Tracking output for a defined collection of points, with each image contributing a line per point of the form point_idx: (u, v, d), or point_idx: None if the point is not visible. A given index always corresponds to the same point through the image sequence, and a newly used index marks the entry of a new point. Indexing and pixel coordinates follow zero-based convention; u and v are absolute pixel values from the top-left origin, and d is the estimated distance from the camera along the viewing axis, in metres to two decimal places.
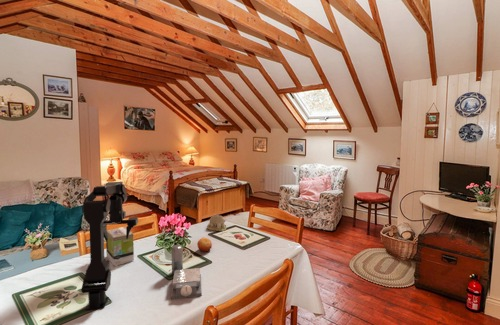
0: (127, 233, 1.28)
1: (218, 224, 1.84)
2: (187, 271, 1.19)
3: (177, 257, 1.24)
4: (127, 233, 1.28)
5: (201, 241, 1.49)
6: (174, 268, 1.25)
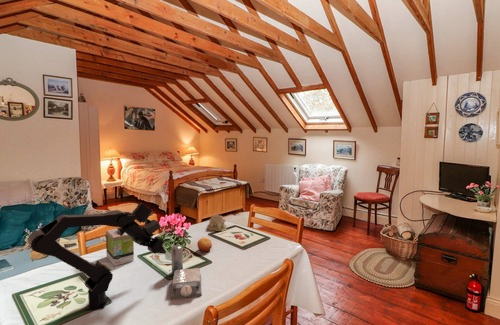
0: (158, 252, 1.15)
1: (218, 224, 1.84)
2: (187, 271, 1.19)
3: (177, 257, 1.24)
4: None
5: (201, 241, 1.49)
6: (174, 268, 1.25)
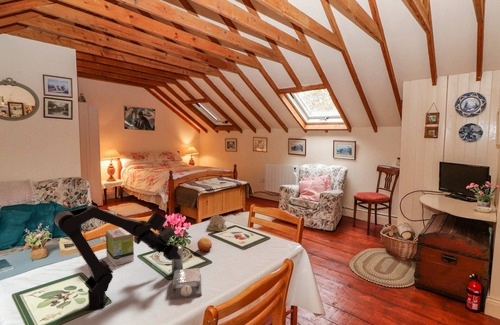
0: None
1: (219, 224, 1.84)
2: (187, 271, 1.19)
3: None
4: (173, 258, 1.20)
5: (201, 241, 1.49)
6: (174, 268, 1.25)
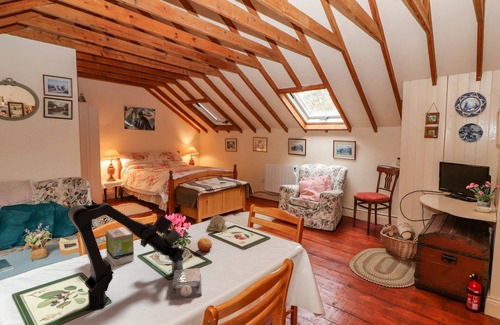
0: None
1: (219, 225, 1.83)
2: (187, 271, 1.19)
3: None
4: None
5: (201, 241, 1.49)
6: (174, 268, 1.25)
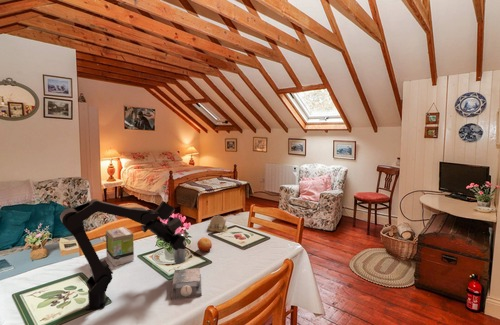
0: (178, 248, 1.20)
1: (220, 225, 1.83)
2: (187, 271, 1.19)
3: None
4: (178, 248, 1.20)
5: (201, 241, 1.49)
6: (176, 256, 1.22)
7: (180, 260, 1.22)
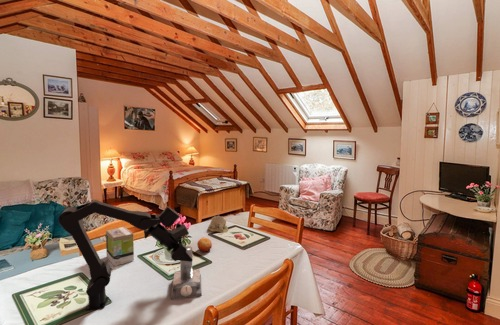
0: None
1: (220, 225, 1.82)
2: None
3: None
4: None
5: (201, 241, 1.49)
6: (181, 272, 1.14)
7: (184, 276, 1.13)
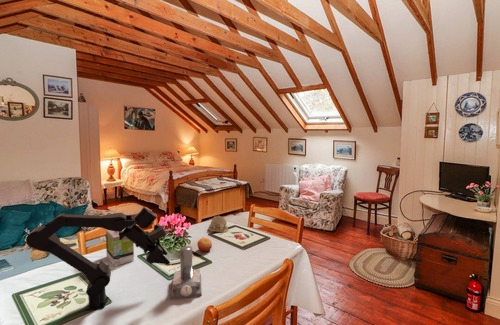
0: None
1: (221, 225, 1.82)
2: None
3: (184, 260, 1.13)
4: None
5: (201, 241, 1.49)
6: (181, 271, 1.14)
7: (184, 276, 1.13)
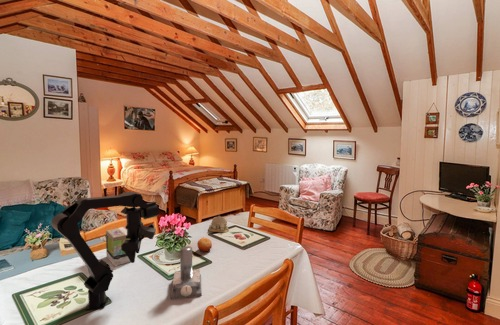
0: None
1: (221, 225, 1.82)
2: None
3: (184, 260, 1.12)
4: None
5: (201, 241, 1.49)
6: (181, 271, 1.14)
7: (184, 276, 1.13)
